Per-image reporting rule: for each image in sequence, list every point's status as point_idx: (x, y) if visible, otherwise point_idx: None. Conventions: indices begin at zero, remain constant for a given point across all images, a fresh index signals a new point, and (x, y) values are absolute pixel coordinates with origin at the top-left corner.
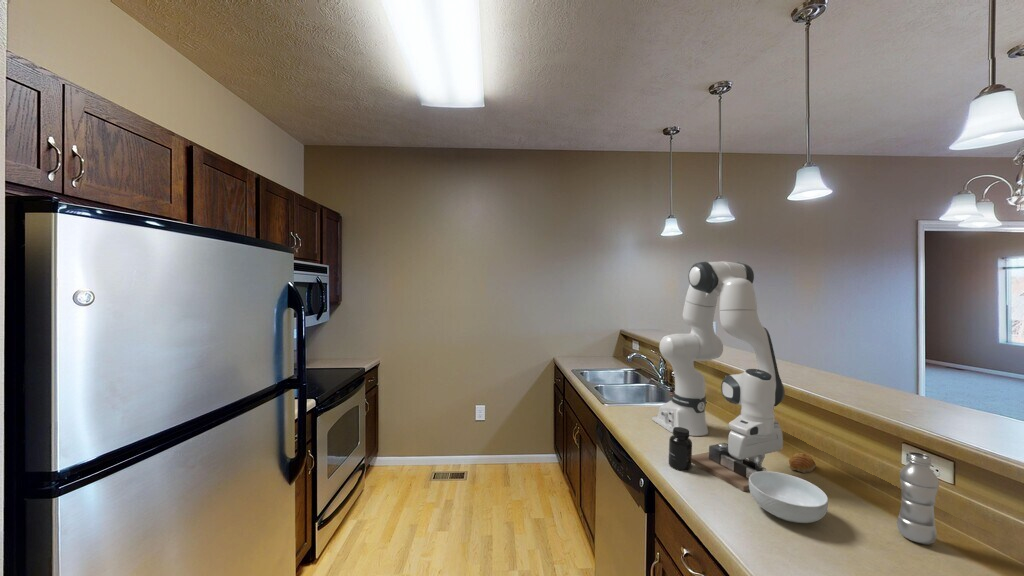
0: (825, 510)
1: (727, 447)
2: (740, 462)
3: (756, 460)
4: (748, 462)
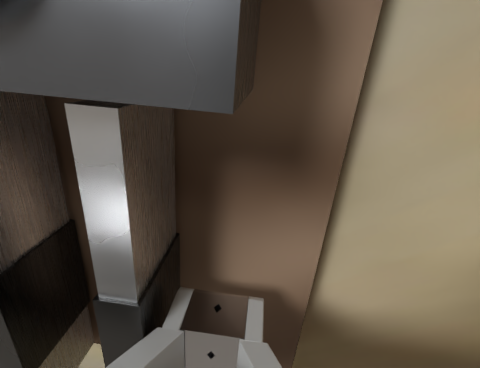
0: None
1: (18, 10)
2: (3, 320)
3: (240, 357)
4: (105, 343)
